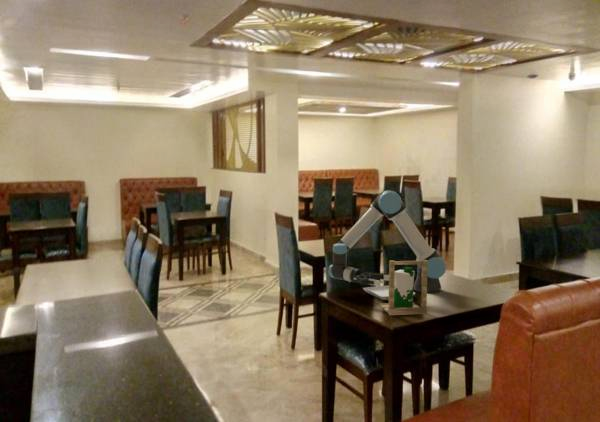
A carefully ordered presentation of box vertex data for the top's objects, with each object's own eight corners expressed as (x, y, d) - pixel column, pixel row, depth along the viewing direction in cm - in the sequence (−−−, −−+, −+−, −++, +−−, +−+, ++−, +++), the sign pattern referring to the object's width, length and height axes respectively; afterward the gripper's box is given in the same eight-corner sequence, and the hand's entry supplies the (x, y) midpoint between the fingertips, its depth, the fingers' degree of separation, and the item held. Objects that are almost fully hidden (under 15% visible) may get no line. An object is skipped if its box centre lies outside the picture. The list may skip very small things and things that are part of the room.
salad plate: (362, 293, 268) (362, 287, 267) (394, 290, 275) (395, 284, 275) (381, 303, 248) (381, 296, 248) (416, 299, 256) (416, 293, 255)
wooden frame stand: (379, 304, 244) (380, 254, 241) (413, 303, 246) (414, 254, 244) (389, 315, 226) (391, 261, 224) (426, 314, 228) (428, 260, 226)
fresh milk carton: (408, 310, 231) (409, 269, 229) (390, 307, 236) (391, 267, 234) (415, 306, 238) (416, 267, 236) (398, 303, 243) (399, 264, 241)
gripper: (367, 278, 266) (400, 284, 252) (339, 285, 248) (373, 293, 234) (367, 264, 266) (400, 270, 251) (339, 271, 248) (373, 278, 233)
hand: (387, 281), depth 242 cm, fingers open, 13 cm apart
